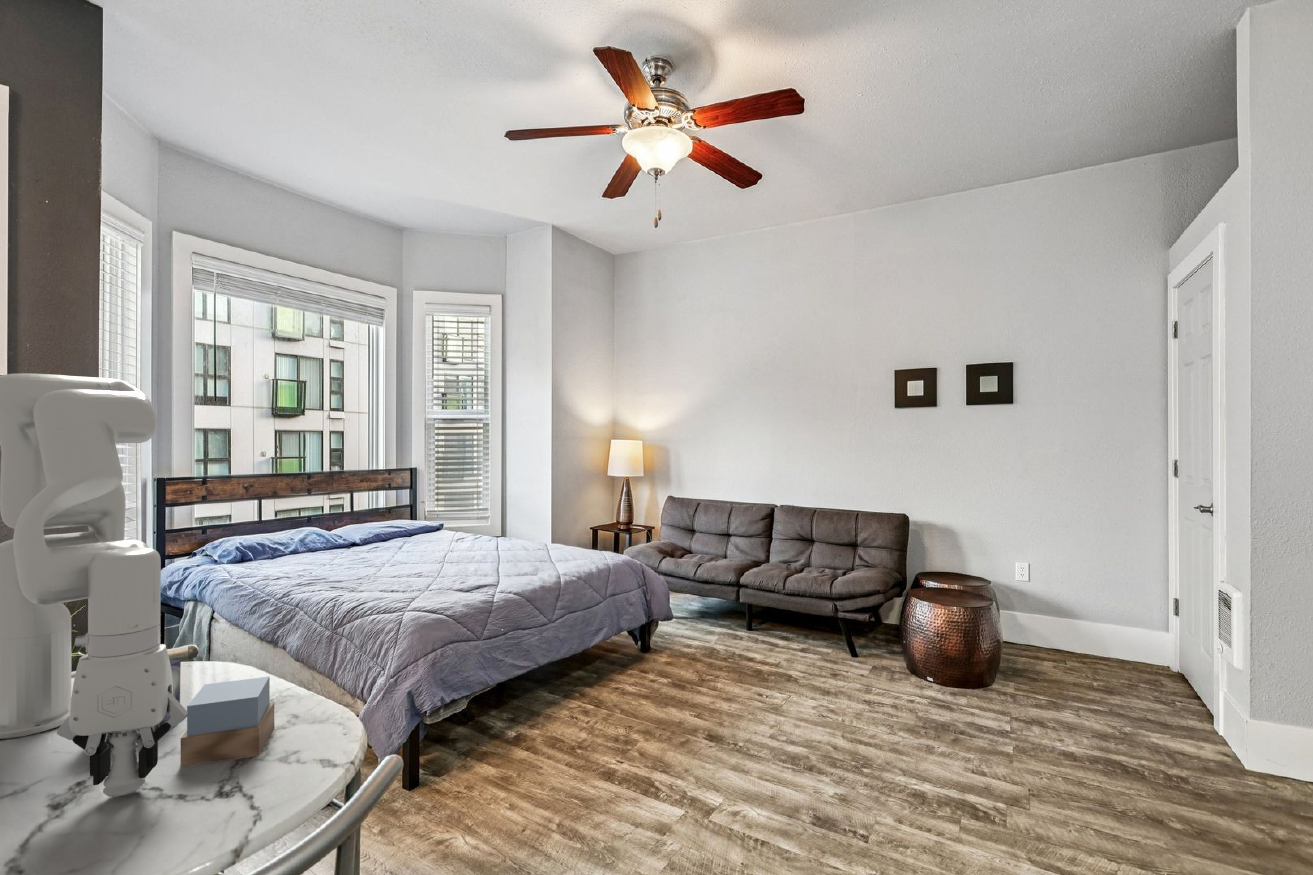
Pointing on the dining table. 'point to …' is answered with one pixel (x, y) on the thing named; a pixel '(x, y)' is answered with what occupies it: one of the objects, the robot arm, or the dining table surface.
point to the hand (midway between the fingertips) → (124, 774)
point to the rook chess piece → (123, 765)
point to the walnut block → (227, 743)
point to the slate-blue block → (228, 706)
